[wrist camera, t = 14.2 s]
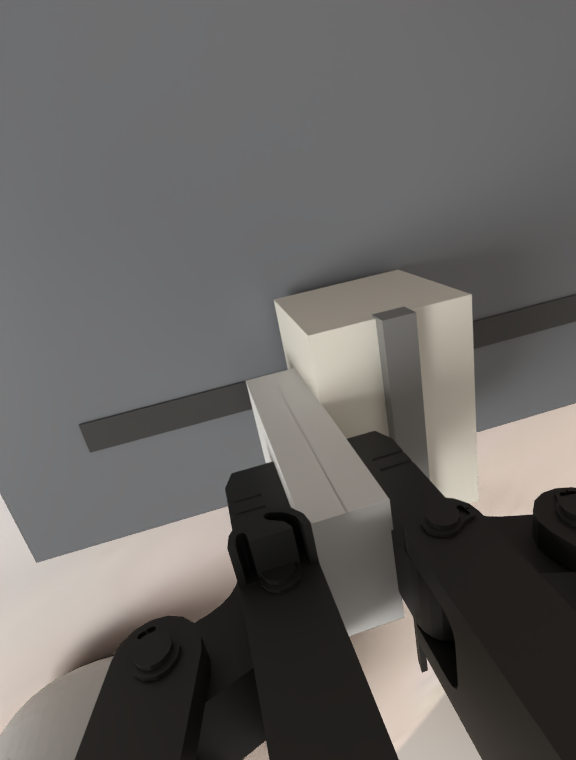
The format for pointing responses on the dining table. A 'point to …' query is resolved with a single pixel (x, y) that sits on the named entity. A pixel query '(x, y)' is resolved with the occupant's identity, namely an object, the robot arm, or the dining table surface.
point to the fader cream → (393, 367)
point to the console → (258, 223)
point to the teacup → (55, 717)
